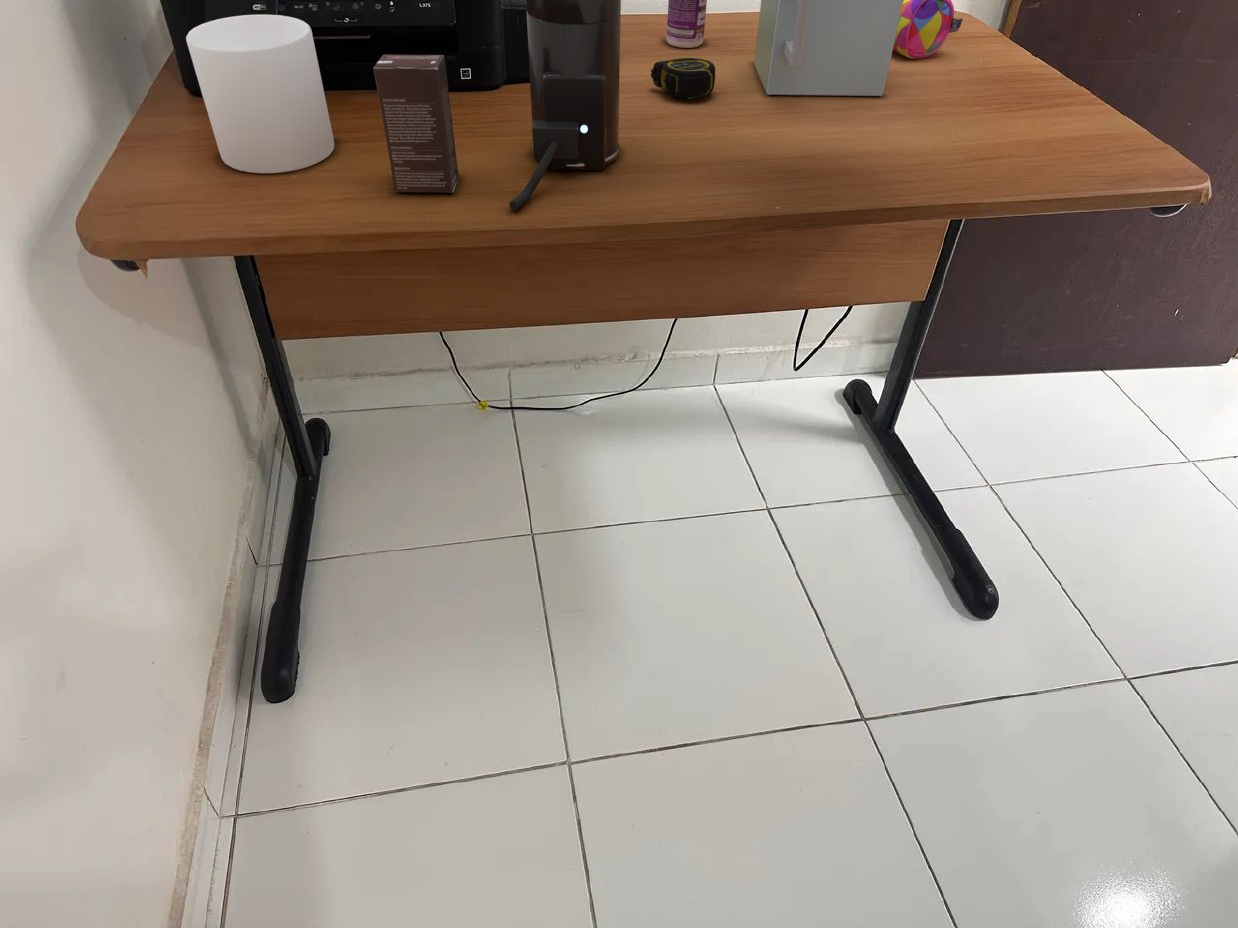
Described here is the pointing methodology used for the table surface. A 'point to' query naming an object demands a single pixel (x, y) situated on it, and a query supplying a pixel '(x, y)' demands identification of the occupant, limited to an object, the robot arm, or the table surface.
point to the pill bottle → (686, 23)
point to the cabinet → (765, 39)
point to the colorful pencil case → (924, 27)
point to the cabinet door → (832, 47)
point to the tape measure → (684, 77)
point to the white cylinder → (262, 92)
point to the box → (417, 122)
